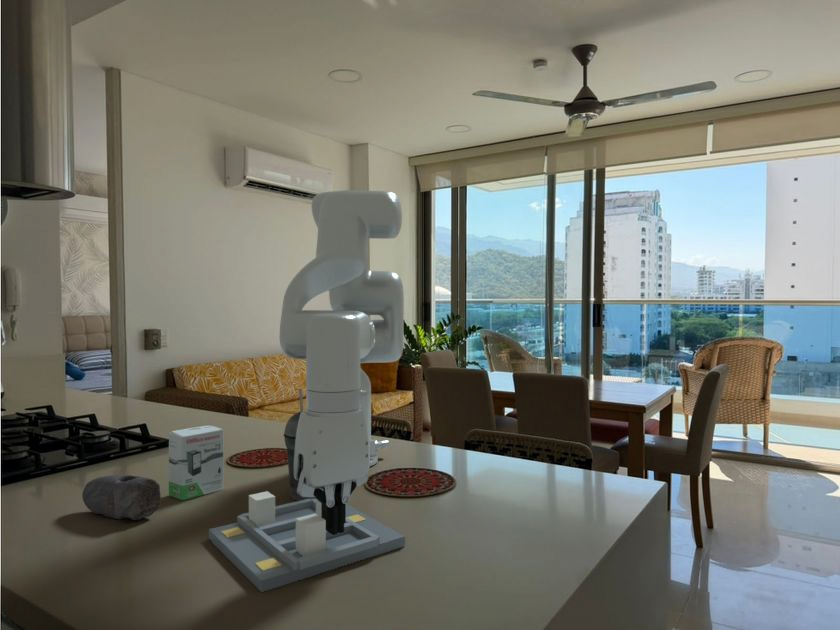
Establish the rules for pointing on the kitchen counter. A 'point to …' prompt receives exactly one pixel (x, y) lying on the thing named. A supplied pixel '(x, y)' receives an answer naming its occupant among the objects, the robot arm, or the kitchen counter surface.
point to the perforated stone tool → (122, 496)
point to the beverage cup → (290, 444)
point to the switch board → (276, 545)
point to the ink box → (195, 461)
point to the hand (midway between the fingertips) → (333, 530)
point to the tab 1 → (262, 509)
